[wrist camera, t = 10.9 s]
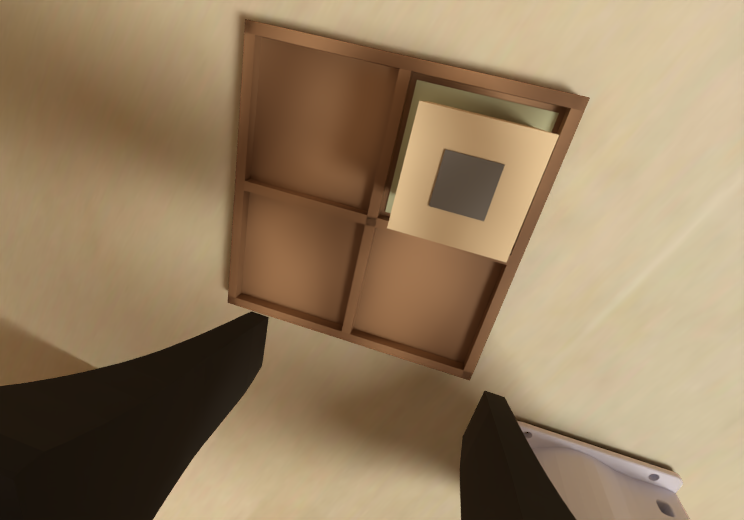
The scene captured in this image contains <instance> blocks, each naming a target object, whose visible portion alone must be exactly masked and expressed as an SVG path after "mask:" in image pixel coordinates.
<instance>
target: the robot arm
mask: <svg viewBox="0 0 744 520" xmlns="http://www.w3.org/2000/svg"><path fill="white" fill-rule="evenodd" d="M268 318H269V317H266V316H263V315H260V314H257V313H254V312H250V313H247V314H245V315H243V316H241V317H238V318H236V319H234V320H232V321H230V322H228V323H225V324H223V325H221V326H219V327H217V328H214V329H212V330H210V331H208V332H205V333H203V334H201V335H199V336H196V337H194V338H191V339H189V340H186V341H184V342H181V343H179V344H176V345H173V346H171V347H168V348H166V349H163V350H160V351H158V352H155V353H152V354H149V355H146V356H142V357H139V358H136V359H133V360H129V361H126V362H122V363H119V364H115V365H111V366H107V367H103V368H99V369H95V370H90V371H86V372H82V373H78V374H73V375H68V376H63V377H58V378H52V379H46V380H40V381H35V382H28V383H22V384H14V385H6V386H0V520H153V518H154V517H155V515H156V514H157V512H158V510H159V509H160V507H161V506H162V504H163V503H164V501H165V500H166V498H167V496H168V495H169V493H170V492H171V490H172V489H173V487H174V486H175V484H176V483H177V481H178V480H179V478H180V477H181V475H182V474H183V472H184V471H185V469H186V468H187V466H188V465H189V463H190V462H191V460H192V459H193V458H194V456H195V455H196V454H197V452H198V451H199V450H200V448H201V447H202V446H203V445H204V443H205V442H206V441H207V440H208V438H209V437H210V436H211V435H212V433H213V432H214V431H215V430H216V428H217V427H218V426H219V425H220V423H221V422H222V421H223V420H224V419H225V417H226V416H227V415H228V414H229V412H230V411H231V410H232V409H233V407H234V406H235V405H236V404H237V402H238V401H239V400H240V399H241V397H242V396H243V395H244V393H245V392H246V391H247V389H248V388H249V386H250V384H251V383H252V381H253V380H254V378H255V376H256V375H257V373H258V371H259V370H260V368H261V366H262V362H263V355H264V347H265V340H266V333H267V326H268ZM524 432H530V433H524ZM682 485H683V481H682V479H681V477H680V476H679V475H678V474H677V473H675V472H673V471H670V470H667V469H664V468H660V467H657V466H654V465H651V464H648V463H645V462H642V461H639V460H636V459H633V458H630V457H627V456H624V455H621V454H618V453H615V452H612V451H609V450H606V449H603V448H600V447H597V446H594V445H591V444H588V443H584V442H581V441H578V440H575V439H572V438H569V437H566V436H563V435H560V434H557V433H554V432H551V431H548V430H545V429H542V428H539V427H536V426H533V425H530V424H527V423H524V422H520V421H517V420H516V418H515V416H514V415H513V413H512V411H511V409H510V407H509V405H508V403H507V401H506V399H505V397H502V396H499V395H496V394H493V393H490V392H487V391H484V393H483V395H482V397H481V399H480V402H479V404H478V406H477V408H476V410H475V412H474V414H473V416H472V418H471V421H470V423H469V425H468V427H467V429H466V431H465V433H464V435H463V440H462V450H461V461H460V498H461V520H690V518H689V516H688V515H687V513H686V511H685V509H684V507H683V505H682V504H681V502H680V500H679V498H678V496H677V495H676V492H677V491H678V490H679V489H680V488H681V486H682Z"/></svg>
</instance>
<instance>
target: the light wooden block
mask: <svg viewBox="0 0 744 520" xmlns="http://www.w3.org/2000/svg"><path fill="white" fill-rule="evenodd" d="M558 137H559V135H557V134H554V133H551V132H548V131H545V130H541V129H538V128H535V127H531V126H527V125H523V124H519V123H515V122H511V121H507V120H503V119H499V118H495V117H491V116H487V115H483V114H479V113H474V112H470V111H466V110H462V109H458V108H454V107H450V106H446V105H442V104H438V103H434V102H429V101H419V104H418V108H417V112H416V116H415V120H414V123H413V127H412V131H411V135H410V139H409V143H408V147H407V151H406V155H405V159H404V163H403V167H402V171H401V175H400V179H399V183H398V187H397V191H396V195H395V199H394V202H393V206H392V210H391V214H390V218H389V222H388V226H387V228H388V229H392V230H395V231H399V232H402V233H406V234H409V235H412V236H416V237H419V238H423V239H426V240H430V241H433V242H437V243H440V244H444V245H447V246H451V247H454V248H458V249H461V250H465V251H468V252H472V253H475V254H478V255H482V256H485V257H489V258H492V259H496V260H499V261H503V262H507V260H508V257H509V255H510V253H511V250H512V248H513V245H514V243H515V240H516V238H517V236H518V233H519V231H520V228H521V226H522V224H523V221H524V219H525V216H526V214H527V211H528V209H529V207H530V204H531V202H532V199H533V197H534V195H535V192H536V190H537V187H538V185H539V182H540V180H541V178H542V175H543V173H544V170H545V168H546V166H547V163H548V161H549V158H550V156H551V154H552V151H553V149H554V146H555V144H556V141H557V139H558Z"/></svg>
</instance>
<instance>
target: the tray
mask: <svg viewBox="0 0 744 520" xmlns="http://www.w3.org/2000/svg"><path fill="white" fill-rule="evenodd" d="M589 99H590V98H589V97H585V96H580V95H576V94H572V93H567V92H563V91H558V90H554V89H550V88H545V87H541V86H537V85H532V84H528V83H523V82H519V81H515V80H510V79H506V78H501V77H497V76H493V75H488V74H484V73H480V72H475V71H471V70H466V69H462V68H458V67H453V66H449V65H444V64H440V63H436V62H431V61H427V60H423V59H418V58H414V57H409V56H405V55H401V54H396V53H392V52H387V51H383V50H379V49H374V48H370V47H365V46H361V45H357V44H352V43H348V42H344V41H339V40H335V39H330V38H326V37H322V36H317V35H313V34H308V33H304V32H300V31H295V30H291V29H287V28H282V27H278V26H273V25H269V24H265V23H260V22H256V21H251V20H247V19H245V34H244V50H243V66H242V82H241V98H240V114H239V130H238V146H237V162H236V179H235V195H234V211H233V227H232V243H231V259H230V275H229V291H228V303H231V304H234V305H237V306H240V307H243V308H246V309H250V310H253V311H256V312H259V313H262V314H265V315H268V316H271V317H274V318H277V319H281V320H284V321H287V322H290V323H293V324H296V325H299V326H302V327H305V328H309V329H312V330H315V331H318V332H321V333H324V334H327V335H330V336H333V337H337V338H340V339H343V340H346V341H349V342H352V343H355V344H358V345H361V346H365V347H368V348H371V349H374V350H377V351H380V352H383V353H386V354H389V355H393V356H396V357H399V358H402V359H405V360H408V361H411V362H414V363H417V364H421V365H424V366H427V367H430V368H433V369H436V370H439V371H442V372H445V373H448V374H452V375H455V376H458V377H461V378H464V379H467V380H470V379H471V376H472V374H473V372H474V369H475V367H476V365H477V362H478V360H479V358H480V355H481V353H482V350H483V348H484V346H485V343H486V341H487V339H488V336H489V334H490V332H491V329H492V327H493V325H494V322H495V320H496V318H497V315H498V313H499V310H500V308H501V306H502V303H503V301H504V299H505V296H506V294H507V292H508V289H509V287H510V285H511V282H512V280H513V277H514V275H515V273H516V270H517V268H518V266H519V263H520V261H521V259H522V256H523V254H524V252H525V249H526V247H527V245H528V242H529V240H530V237H531V235H532V233H533V230H534V228H535V226H536V223H537V221H538V219H539V216H540V214H541V212H542V209H543V207H544V204H545V202H546V200H547V197H548V195H549V193H550V190H551V188H552V186H553V183H554V181H555V179H556V176H557V174H558V172H559V169H560V167H561V164H562V162H563V160H564V157H565V155H566V153H567V150H568V148H569V146H570V143H571V141H572V139H573V136H574V134H575V131H576V129H577V127H578V124H579V122H580V120H581V117H582V115H583V113H584V110H585V108H586V106H587V103H588V101H589ZM419 101H429V102H434V103H438V104H442V105H446V106H450V107H454V108H458V109H462V110H466V111H470V112H474V113H479V114H483V115H487V116H491V117H495V118H499V119H503V120H507V121H511V122H515V123H519V124H523V125H527V126H531V127H535V128H538V129H541V130H545V131H548V132H551V133H554V134H557V135H559V137H558V139H557V141H556V144H555V146H554V149H553V151H552V154H551V156H550V158H549V161H548V163H547V166H546V168H545V170H544V173H543V175H542V178H541V180H540V182H539V185H538V187H537V190H536V192H535V195H534V197H533V199H532V202H531V204H530V207H529V209H528V211H527V214H526V216H525V219H524V221H523V224H522V226H521V228H520V231H519V233H518V236H517V238H516V240H515V243H514V245H513V248H512V250H511V253H510V255H509V257H508V260H507V262H503V261H499V260H496V259H492V258H489V257H485V256H482V255H478V254H475V253H472V252H468V251H465V250H461V249H458V248H454V247H451V246H447V245H444V244H440V243H437V242H433V241H430V240H426V239H423V238H419V237H416V236H412V235H409V234H406V233H402V232H399V231H395V230H392V229H388V228H387V226H388V222H389V218H390V214H391V210H392V206H393V202H394V199H395V195H396V191H397V187H398V183H399V179H400V175H401V171H402V167H403V163H404V159H405V155H406V151H407V147H408V143H409V139H410V135H411V131H412V127H413V123H414V120H415V116H416V112H417V108H418V104H419Z"/></svg>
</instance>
